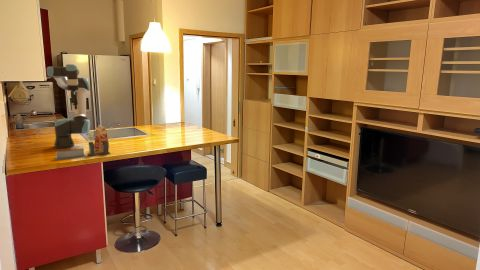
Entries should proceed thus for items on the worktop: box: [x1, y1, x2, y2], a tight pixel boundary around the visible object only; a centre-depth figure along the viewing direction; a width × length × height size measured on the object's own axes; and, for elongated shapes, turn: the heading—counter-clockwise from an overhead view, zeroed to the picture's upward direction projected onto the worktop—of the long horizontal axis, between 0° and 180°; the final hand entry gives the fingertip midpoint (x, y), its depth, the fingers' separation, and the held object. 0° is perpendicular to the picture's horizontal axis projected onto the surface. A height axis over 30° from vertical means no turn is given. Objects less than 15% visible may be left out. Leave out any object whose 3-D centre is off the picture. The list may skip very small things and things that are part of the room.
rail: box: [56, 148, 85, 159], centre depth 251 cm, size 4×18×5 cm, turn 122°
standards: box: [87, 141, 111, 157], centre depth 260 cm, size 7×15×10 cm, turn 122°
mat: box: [55, 153, 87, 161], centre depth 251 cm, size 9×20×1 cm, turn 122°
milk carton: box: [94, 124, 110, 151], centre depth 275 cm, size 9×9×20 cm
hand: (75, 112), depth 261 cm, fingers open, 13 cm apart
